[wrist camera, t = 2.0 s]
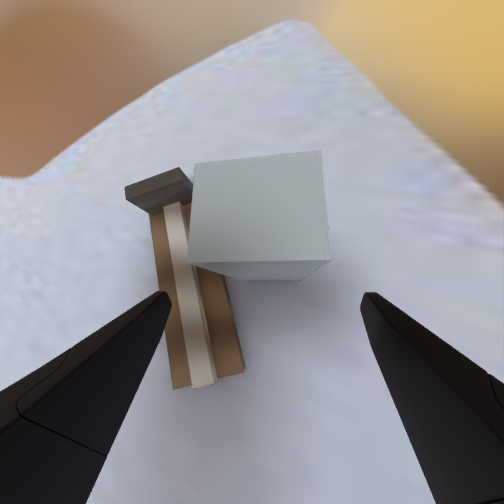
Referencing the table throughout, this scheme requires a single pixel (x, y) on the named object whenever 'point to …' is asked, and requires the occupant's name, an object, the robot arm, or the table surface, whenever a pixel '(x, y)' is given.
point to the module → (260, 217)
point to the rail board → (187, 287)
